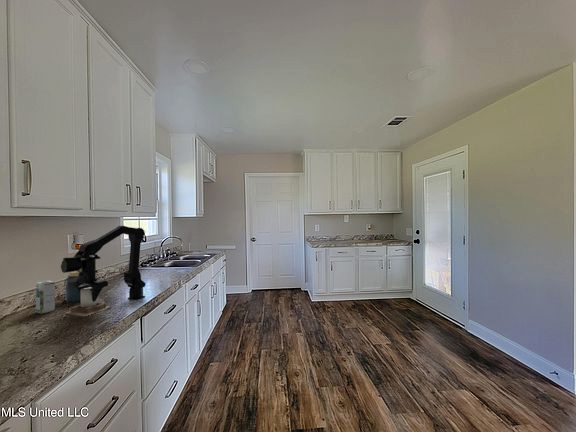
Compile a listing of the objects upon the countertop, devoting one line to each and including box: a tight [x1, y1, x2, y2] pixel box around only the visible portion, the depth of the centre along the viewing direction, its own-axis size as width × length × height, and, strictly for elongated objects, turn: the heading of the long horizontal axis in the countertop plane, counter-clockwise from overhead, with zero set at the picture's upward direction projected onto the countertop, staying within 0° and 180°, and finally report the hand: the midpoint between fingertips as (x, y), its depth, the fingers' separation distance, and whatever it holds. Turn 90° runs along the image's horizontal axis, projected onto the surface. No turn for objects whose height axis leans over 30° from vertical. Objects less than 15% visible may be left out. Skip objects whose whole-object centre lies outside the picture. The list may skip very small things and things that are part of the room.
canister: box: [64, 269, 91, 303], centre depth 156 cm, size 13×13×18 cm
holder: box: [64, 301, 112, 318], centre depth 136 cm, size 13×13×3 cm
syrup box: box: [35, 280, 56, 314], centre depth 136 cm, size 6×6×14 cm
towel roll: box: [80, 287, 98, 307], centre depth 136 cm, size 6×6×8 cm
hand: (88, 301), depth 136 cm, fingers closed on towel roll, 6 cm apart
